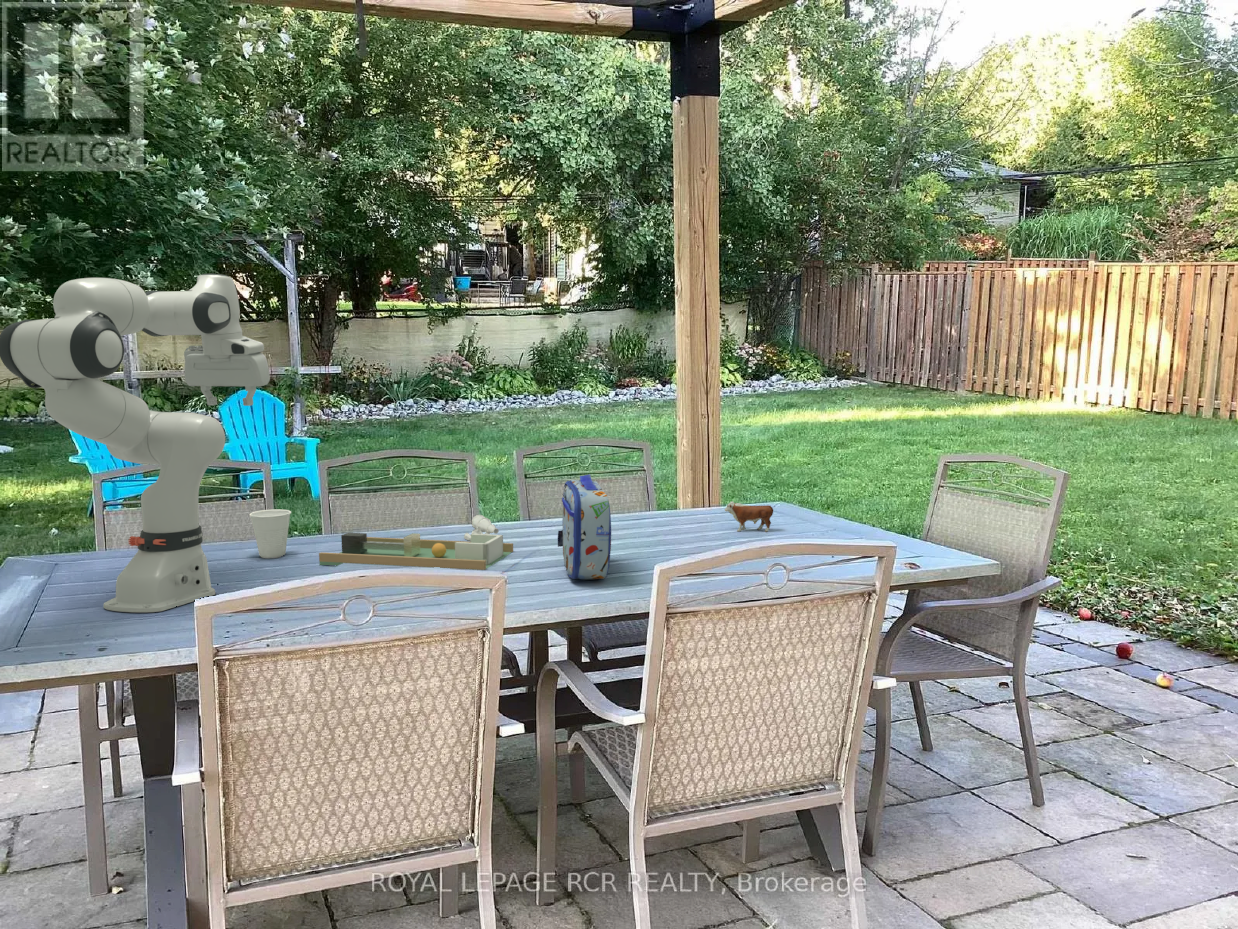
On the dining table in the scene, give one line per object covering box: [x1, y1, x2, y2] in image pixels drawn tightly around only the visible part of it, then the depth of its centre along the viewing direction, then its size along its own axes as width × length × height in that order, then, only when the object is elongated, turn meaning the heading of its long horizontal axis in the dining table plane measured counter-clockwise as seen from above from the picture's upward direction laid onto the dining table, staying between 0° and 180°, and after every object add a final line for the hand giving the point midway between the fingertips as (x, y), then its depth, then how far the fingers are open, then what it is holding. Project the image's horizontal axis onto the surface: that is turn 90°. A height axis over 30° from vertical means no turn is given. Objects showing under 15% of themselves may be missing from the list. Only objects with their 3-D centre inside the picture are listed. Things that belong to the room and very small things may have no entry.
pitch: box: [318, 536, 514, 571], centre depth 245 cm, size 20×42×3 cm, turn 77°
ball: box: [432, 543, 446, 557], centre depth 244 cm, size 4×4×4 cm
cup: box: [248, 508, 292, 559], centre depth 251 cm, size 10×10×11 cm
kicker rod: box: [340, 532, 421, 557], centre depth 247 cm, size 5×19×5 cm, turn 77°
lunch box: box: [557, 474, 612, 580], centre depth 231 cm, size 28×10×22 cm, turn 9°
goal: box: [455, 533, 504, 565], centre depth 242 cm, size 11×8×5 cm
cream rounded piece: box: [463, 514, 499, 542], centre depth 265 cm, size 8×14×5 cm
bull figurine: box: [724, 501, 774, 533], centre depth 279 cm, size 4×13×8 cm, turn 82°
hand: (230, 405), depth 233 cm, fingers open, 8 cm apart
